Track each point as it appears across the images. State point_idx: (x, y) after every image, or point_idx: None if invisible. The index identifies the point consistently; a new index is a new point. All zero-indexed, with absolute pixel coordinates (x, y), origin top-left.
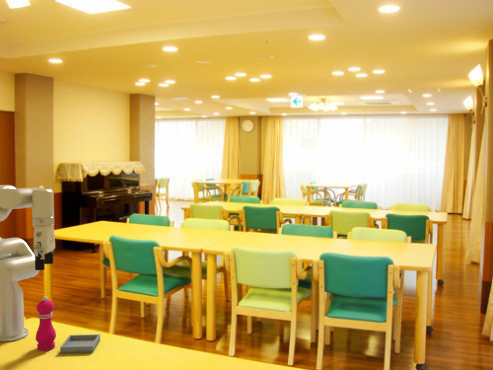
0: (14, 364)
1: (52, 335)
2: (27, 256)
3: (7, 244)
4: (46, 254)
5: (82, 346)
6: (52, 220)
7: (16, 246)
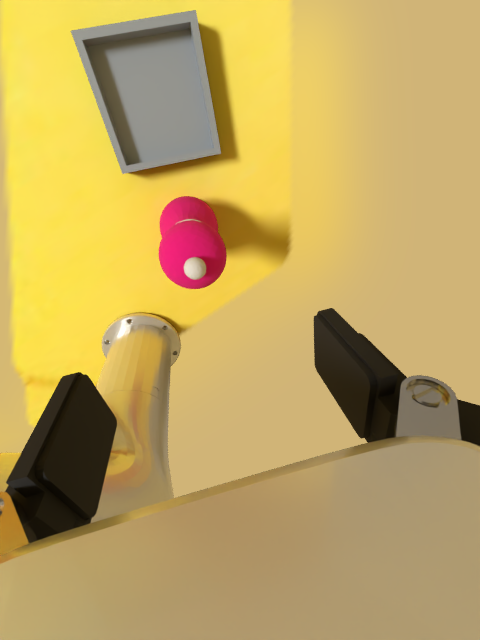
0: (285, 242)
1: (197, 200)
2: None
3: None
4: (82, 506)
5: (204, 63)
6: None
7: None
